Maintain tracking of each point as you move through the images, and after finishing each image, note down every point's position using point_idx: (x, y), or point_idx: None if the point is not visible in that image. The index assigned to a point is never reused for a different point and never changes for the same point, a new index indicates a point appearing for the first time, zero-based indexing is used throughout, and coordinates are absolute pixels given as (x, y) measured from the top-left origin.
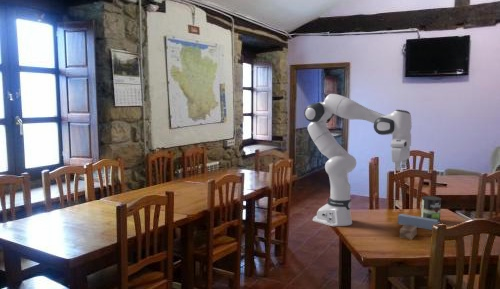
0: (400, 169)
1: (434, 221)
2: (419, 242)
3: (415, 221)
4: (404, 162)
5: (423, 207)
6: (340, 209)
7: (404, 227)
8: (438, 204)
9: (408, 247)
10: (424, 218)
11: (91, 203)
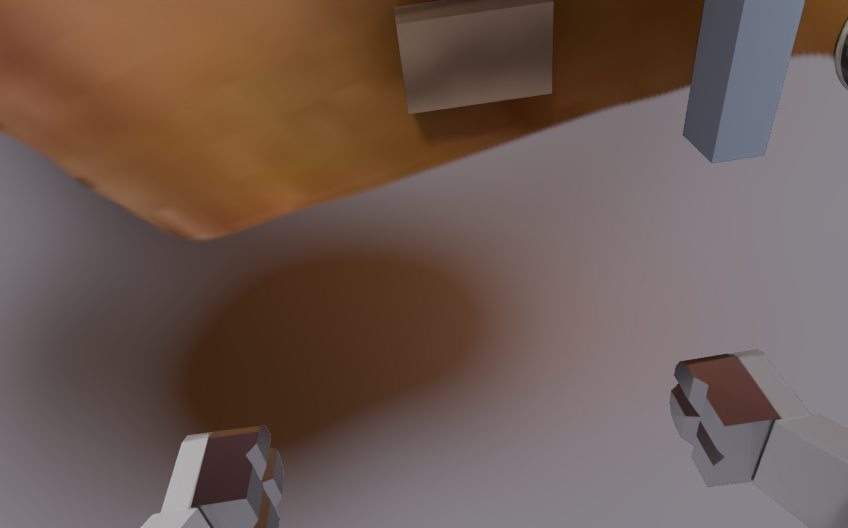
0: (273, 494)
1: (713, 152)
2: (388, 145)
3: (727, 9)
4: (825, 513)
5: None
6: None
7: (465, 32)
8: None
9: (251, 133)
10: (764, 73)
11: None
